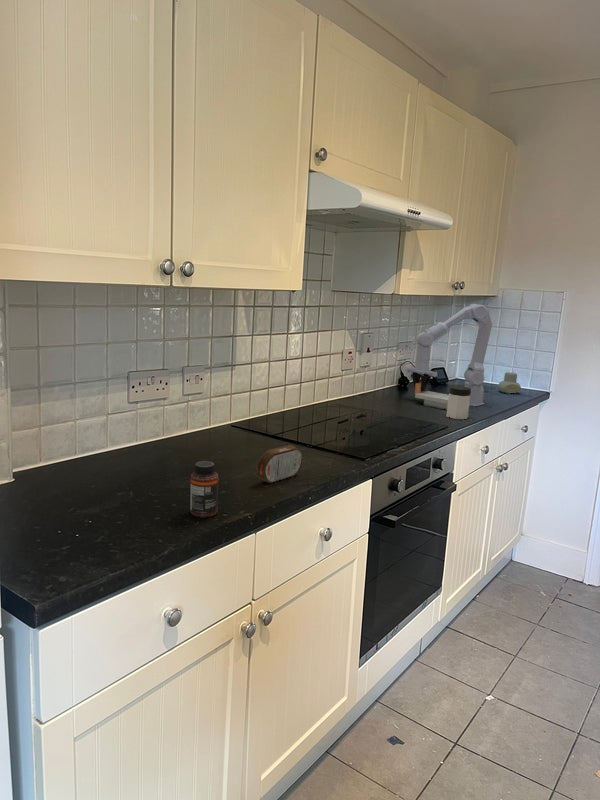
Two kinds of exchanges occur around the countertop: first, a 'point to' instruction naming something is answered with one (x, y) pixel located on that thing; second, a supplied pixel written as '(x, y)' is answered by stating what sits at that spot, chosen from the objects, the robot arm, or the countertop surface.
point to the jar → (458, 402)
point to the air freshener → (509, 383)
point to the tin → (279, 463)
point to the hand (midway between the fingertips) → (419, 390)
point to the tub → (435, 404)
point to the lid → (430, 395)
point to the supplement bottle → (204, 490)
